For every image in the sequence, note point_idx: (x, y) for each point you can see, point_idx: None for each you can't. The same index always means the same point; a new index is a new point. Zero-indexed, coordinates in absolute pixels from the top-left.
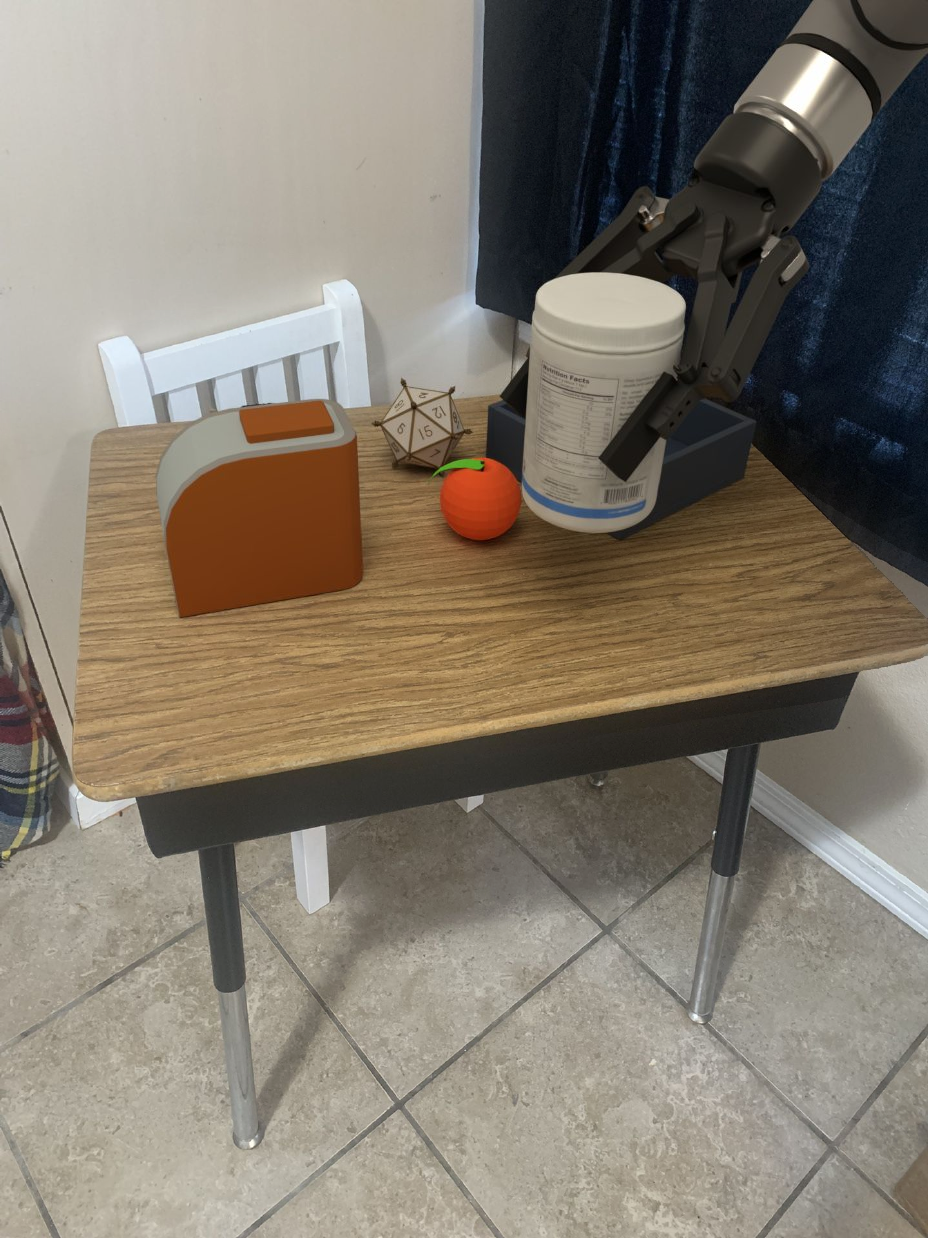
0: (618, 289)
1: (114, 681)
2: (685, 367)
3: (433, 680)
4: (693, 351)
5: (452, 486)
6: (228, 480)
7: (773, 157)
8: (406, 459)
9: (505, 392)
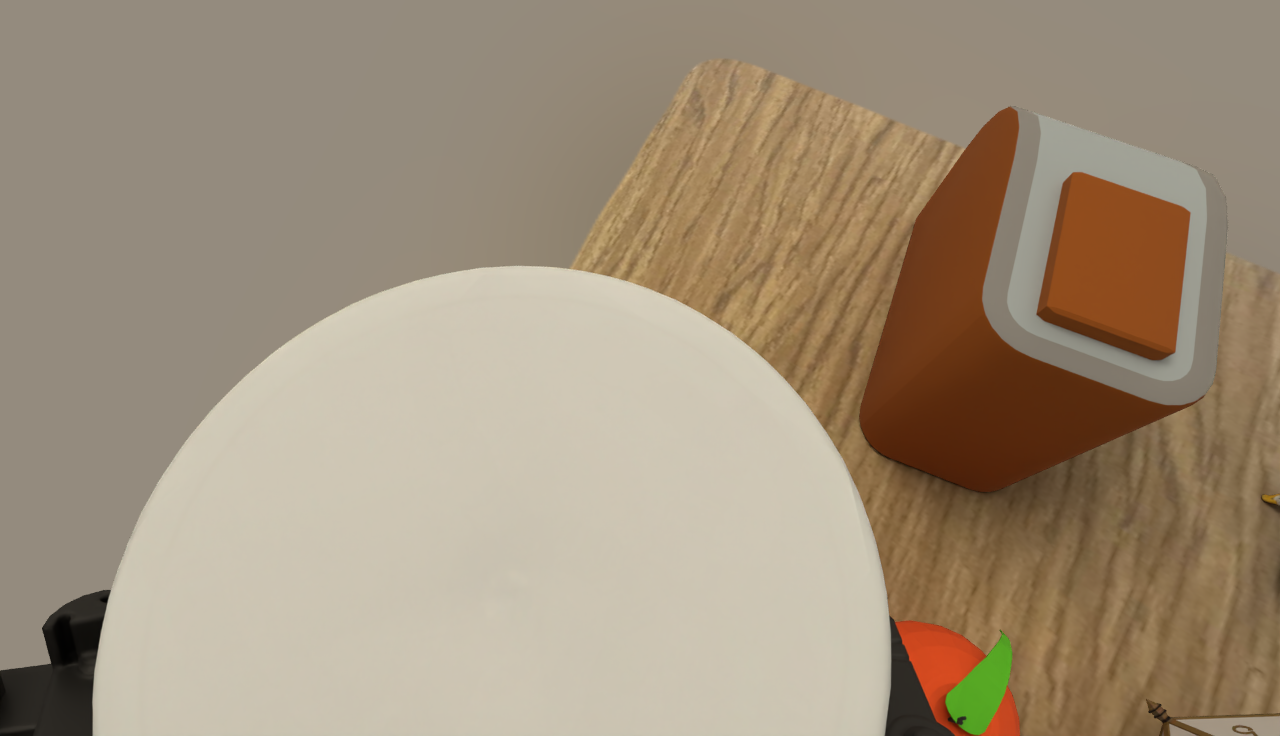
0: (552, 727)
1: (841, 123)
2: (75, 608)
3: None
4: (77, 729)
5: (943, 636)
6: (999, 154)
7: None
8: (1150, 702)
9: None
